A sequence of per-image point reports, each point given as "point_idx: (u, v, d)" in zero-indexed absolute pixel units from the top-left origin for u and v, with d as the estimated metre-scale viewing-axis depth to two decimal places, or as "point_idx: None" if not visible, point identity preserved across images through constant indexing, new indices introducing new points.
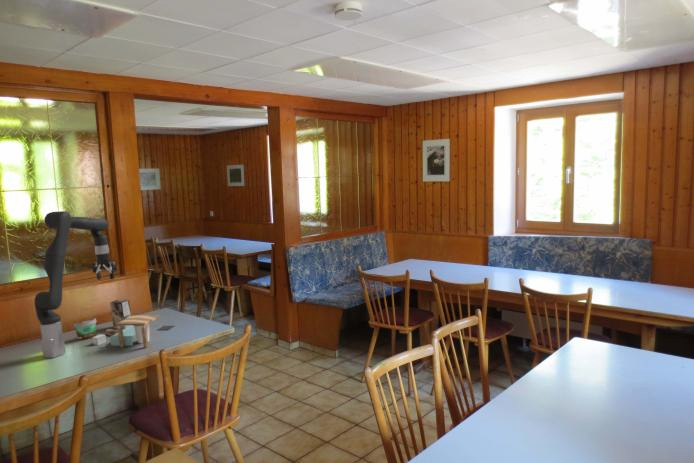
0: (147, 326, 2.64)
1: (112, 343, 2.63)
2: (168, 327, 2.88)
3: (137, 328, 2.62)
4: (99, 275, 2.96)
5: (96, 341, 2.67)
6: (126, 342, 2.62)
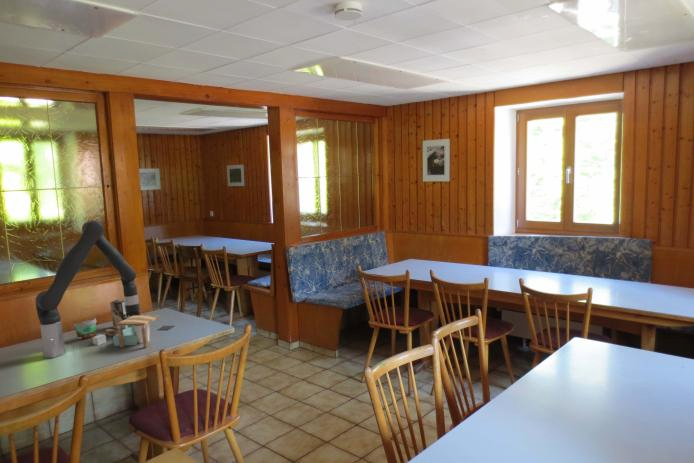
0: (147, 326, 2.64)
1: (115, 343, 2.63)
2: (168, 327, 2.88)
3: (137, 328, 2.62)
4: None
5: (96, 341, 2.67)
6: (130, 342, 2.62)
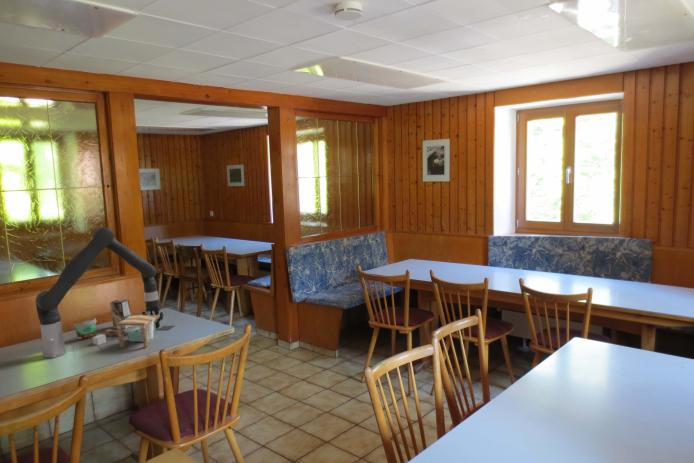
0: (151, 323, 2.69)
1: (130, 338, 2.69)
2: (168, 327, 2.88)
3: None
4: None
5: (96, 341, 2.67)
6: None
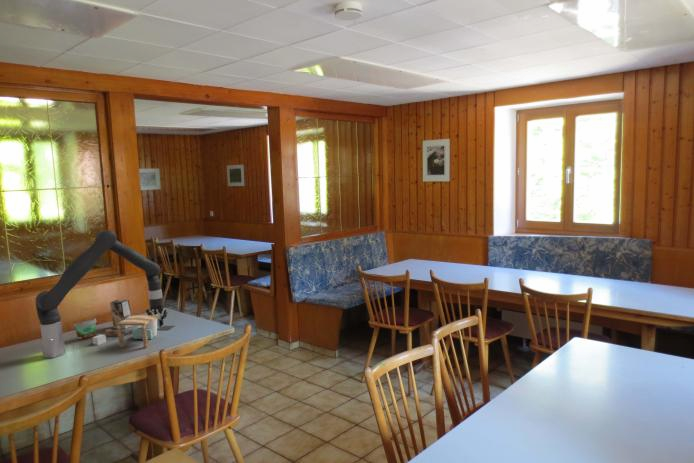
0: (154, 321, 2.73)
1: (134, 336, 2.73)
2: (168, 327, 2.88)
3: None
4: None
5: (96, 341, 2.67)
6: None
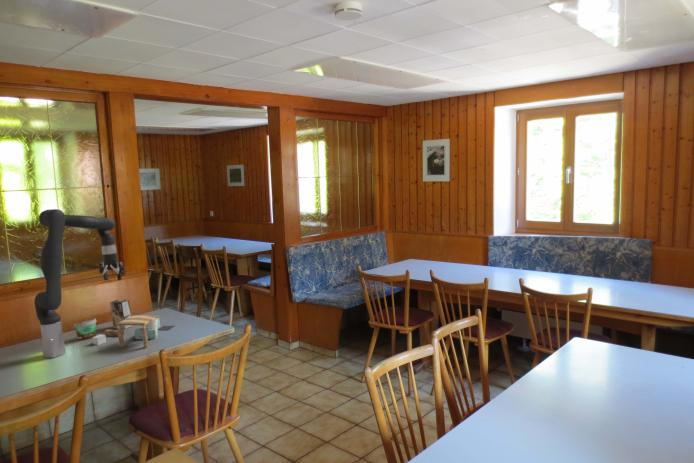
0: (155, 321, 2.73)
1: (136, 336, 2.72)
2: (168, 327, 2.88)
3: None
4: (106, 276, 2.87)
5: (96, 341, 2.67)
6: (150, 336, 2.70)
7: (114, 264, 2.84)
